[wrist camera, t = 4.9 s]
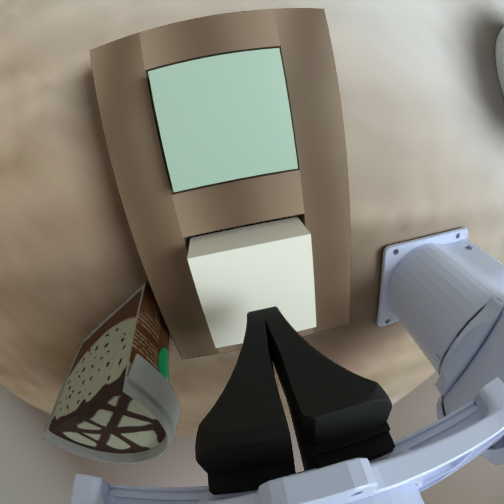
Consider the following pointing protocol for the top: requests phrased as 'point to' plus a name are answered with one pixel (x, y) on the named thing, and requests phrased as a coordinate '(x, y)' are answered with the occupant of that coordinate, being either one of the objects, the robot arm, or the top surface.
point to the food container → (119, 388)
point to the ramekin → (500, 57)
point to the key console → (238, 190)
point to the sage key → (224, 118)
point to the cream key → (254, 276)
